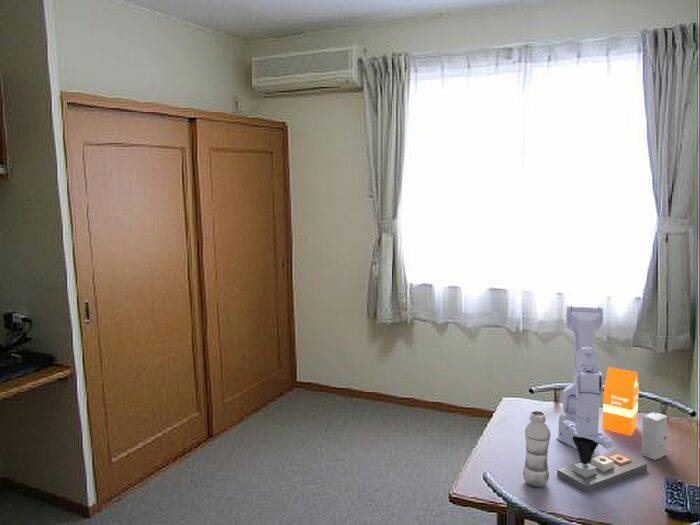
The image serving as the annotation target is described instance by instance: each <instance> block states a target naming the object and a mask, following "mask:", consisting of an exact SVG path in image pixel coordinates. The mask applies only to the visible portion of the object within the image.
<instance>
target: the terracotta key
mask: <svg viewBox="0 0 700 525" xmlns="http://www.w3.org/2000/svg"><path fill="white" fill-rule="evenodd" d="M609 459H611V460H613V461H614V463H616V464H618V465H620V466H622V465H625V464H628V463H630V459H628V458H626V457H624V456H622V455H619V454H616V455H614V456H611V457H609Z"/></svg>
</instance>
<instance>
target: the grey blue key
mask: <svg viewBox="0 0 700 525" xmlns="http://www.w3.org/2000/svg"><path fill="white" fill-rule="evenodd" d="M579 462H580V461H579ZM576 463H577V462H576ZM573 464H574V472H576V473H577V474H579V475H581V476H583V477H585V478H587V477H590V476H593V475H595V474H596V467H595V466H593V465H591V464H589V463H588V464H583V463H581V462H580V463H577V464H575V463H573Z"/></svg>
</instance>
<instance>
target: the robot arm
mask: <svg viewBox="0 0 700 525" xmlns="http://www.w3.org/2000/svg"><path fill="white" fill-rule="evenodd" d="M603 309H604V308H603V307H602V306H601V305H584V304H571V303H569V304H568V305H567V306H566V314H565V315H566V319H565V320H566V328H567V330H569V331H572V332H573V335H574V353H573V354H574V357H573V359H574V360H573V383H571V384H569V385H568V386H566V387H564V390H563V396H562V412H561V414H560V415H559V418H558V432H557V433H558V435H557V436H556V440H558V441H560V442H562V443H564V444H566V445H568V446H570V447H572V448H574V449H576V450H577V452H578V456H579V462H580V461H581V463H583V464H588V463H590V460H591V458H592V457H593V454H594V453H595V451H596V448H598V446H599V445H601V447H603V448H604V449H606V450H608V449H610V448H612V447H613V440H612V439H610V438H608V437H607V436H606V435H604V434H603V433H602V432H600V431H599V420H600V402H601V401H600V397H601V395H602V393H603V390H604V386H603V385H604V384H603V383H604V382H603V381H604V380H603V374H602V370H601V368H600V361H599V352H598V350H596V349H594V346H595V345H594V344H595V343H594V342H595V333H596V332H599V331H600V329H601V327H602V325H603V322H604V310H603Z"/></svg>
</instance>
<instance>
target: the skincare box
mask: <svg viewBox="0 0 700 525" xmlns="http://www.w3.org/2000/svg"><path fill="white" fill-rule="evenodd" d="M667 430H668V416H667V415H665V414H662V413H660V412H659V413H658V412H656V411H653V412H651V413H647V414H646V415H643V418H642V436H641V437H642V438H641V455H642V456H643V457H646V458H648V459H651V460H653V461H655V460H657V459H661V458H662V457H664V456H666V454H667V432H668V431H667Z"/></svg>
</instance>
